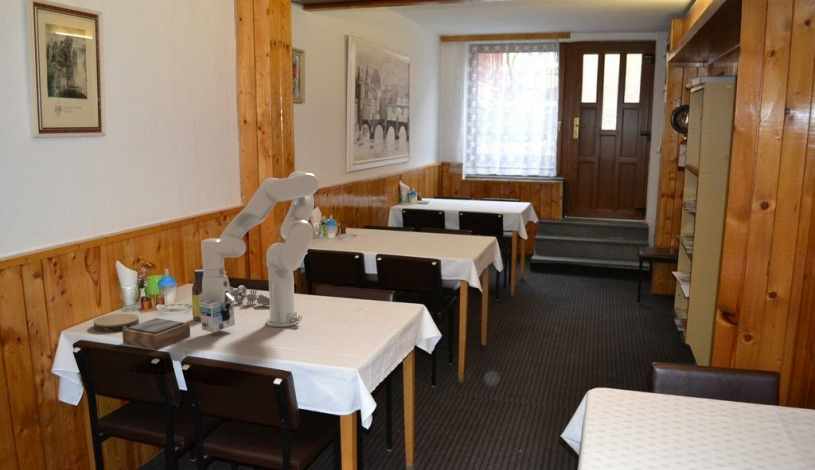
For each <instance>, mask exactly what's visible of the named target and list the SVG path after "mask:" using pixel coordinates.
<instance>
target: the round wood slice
mask: <svg viewBox="0 0 815 470" xmlns="http://www.w3.org/2000/svg"><path fill="white" fill-rule="evenodd" d="M137 324H140V322H139V315H137V314H132V313H114V314H113V313H112V314H109V315H103V316H100V317H97V318H96V319H94V320H93V330H94V331H96V332H99V333H117V332H118V333H119V332H122V330H123V329H126V328H129V327H131V326H134V325H137Z"/></svg>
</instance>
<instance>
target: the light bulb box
mask: <svg viewBox="0 0 815 470" xmlns="http://www.w3.org/2000/svg"><path fill="white" fill-rule="evenodd" d="M227 301H228V300H227ZM224 302H225V300H224ZM228 303H229V301H228ZM225 306H226V304H225ZM234 306H235V305H234V304H233V305H232V306H231V308H230V309H229V314H230V319H229V320H227V321H223V317H222V311H223V308H222V306H221V304H220V303H219V302H215V301H208V300H205V301H202V302H200V310H201V321H200V322H201V330H202V331H206V332H211V333H216V332H219V331H221V330H225V329H228V328H231V327H234V326H235V325H236V323H235V309H234V308H235V307H234Z"/></svg>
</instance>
